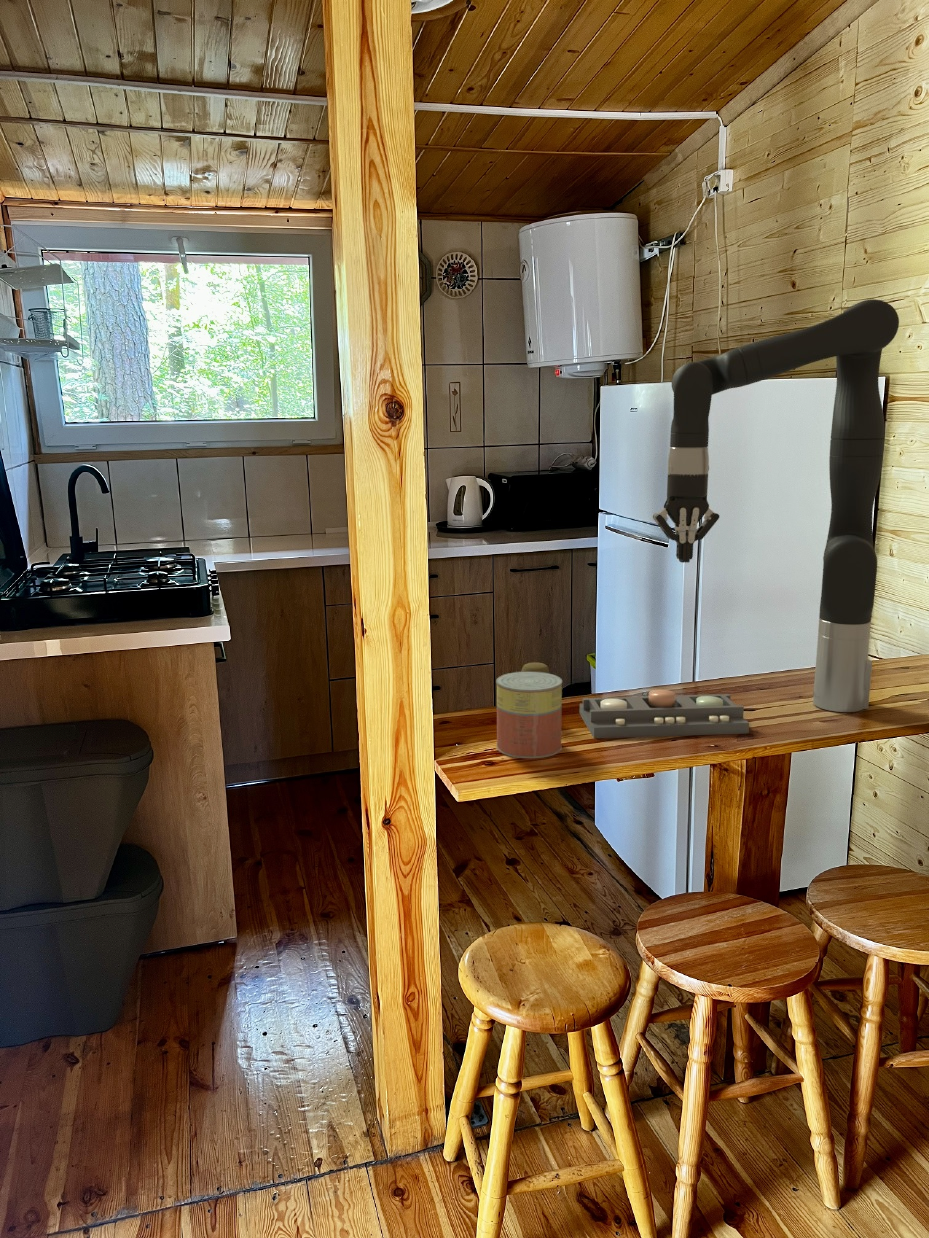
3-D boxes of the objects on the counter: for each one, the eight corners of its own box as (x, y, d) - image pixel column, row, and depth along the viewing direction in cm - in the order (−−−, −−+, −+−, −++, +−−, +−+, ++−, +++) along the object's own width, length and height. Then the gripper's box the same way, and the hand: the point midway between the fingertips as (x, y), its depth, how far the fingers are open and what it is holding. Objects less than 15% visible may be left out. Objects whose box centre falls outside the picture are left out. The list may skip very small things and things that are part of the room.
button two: (717, 705, 174) (718, 695, 174) (726, 713, 170) (726, 703, 169) (692, 706, 174) (693, 696, 174) (700, 714, 169) (701, 704, 169)
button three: (670, 699, 173) (671, 689, 173) (678, 707, 169) (678, 696, 168) (645, 700, 173) (646, 689, 173) (652, 707, 168) (652, 697, 168)
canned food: (530, 731, 168) (531, 667, 166) (575, 748, 160) (576, 681, 157) (483, 745, 161) (482, 679, 159) (526, 763, 153) (527, 694, 150)
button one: (623, 708, 173) (623, 698, 173) (629, 716, 169) (629, 706, 168) (597, 709, 173) (598, 699, 172) (603, 717, 168) (603, 706, 168)
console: (722, 709, 179) (723, 689, 179) (748, 733, 166) (749, 712, 165) (579, 713, 178) (579, 693, 177) (593, 738, 164) (594, 716, 163)
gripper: (715, 470, 180) (710, 558, 183) (648, 470, 179) (645, 559, 182) (729, 472, 172) (724, 564, 176) (659, 473, 171) (656, 565, 175)
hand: (684, 561), depth 179 cm, fingers closed
